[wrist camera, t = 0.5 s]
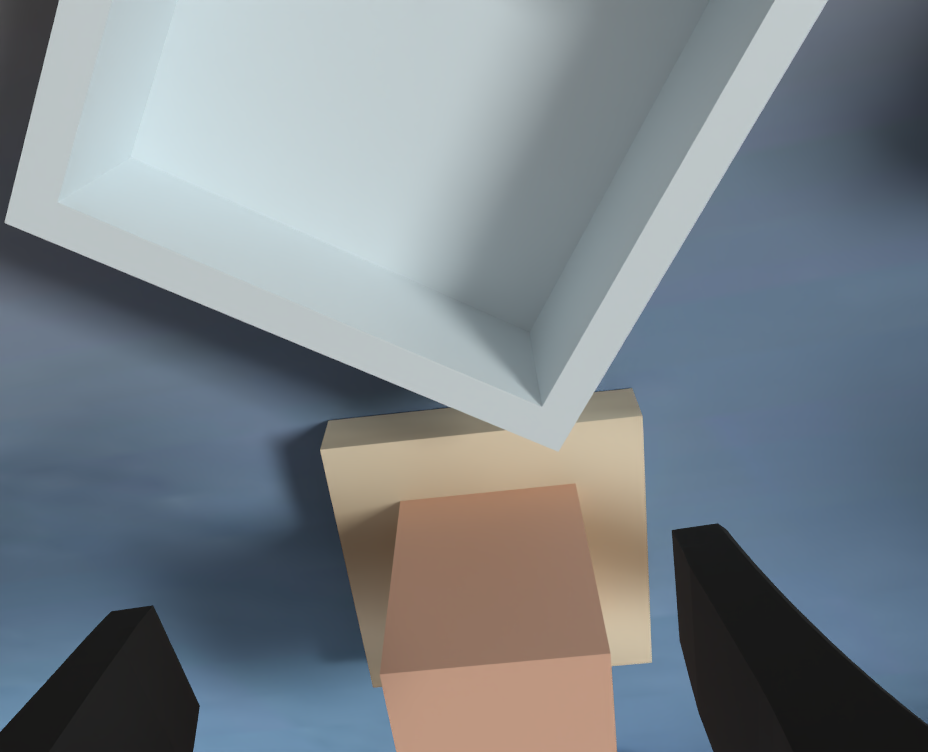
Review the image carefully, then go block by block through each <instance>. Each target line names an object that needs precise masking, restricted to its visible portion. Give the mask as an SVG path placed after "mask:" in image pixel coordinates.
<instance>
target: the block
mask: <svg viewBox="0 0 928 752" xmlns="http://www.w3.org/2000/svg"><path fill="white" fill-rule="evenodd" d="M380 678H381V683H382V687H383V692H384V697H385V701H386V706H387V710H388V715H389V720H390V724H391V729H392V734H393V738H394V743H395V747H396V752H617V746H616V730H615V715H614V699H613V683H612V668H611V653H610V648H609V643H608V639H607V634H606V629H605V624H604V619H603V614H602V609H601V605H600V600H599V595H598V590H597V585H596V580H595V575H594V571H593V566H592V561H591V556H590V551H589V546H588V541H587V537H586V532H585V527H584V522H583V517H582V512H581V507H580V503H579V498H578V493H577V488H576V483H574V484H564V485H554V486H545V487H535V488H525V489H515V490H505V491H495V492H485V493H475V494H466V495H456V496H446V497H436V498H426V499H416V500H406V501H400V507H399V516H398V524H397V533H396V541H395V549H394V558H393V566H392V575H391V583H390V592H389V600H388V608H387V617H386V625H385V634H384V642H383V651H382V659H381V667H380Z"/></svg>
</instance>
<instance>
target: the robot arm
mask: <svg viewBox="0 0 928 752" xmlns="http://www.w3.org/2000/svg"><path fill="white" fill-rule="evenodd" d="M672 539H673V553H674V567H675V581H676V595H677V609H678V623H679V638H680V643H681V647H682V651H683V655H684V659H685V663H686V667H687V671H688V674H689V678H690V682H691V686H692V690H693V693H694V697H695V701H696V705H697V708H698V712H699V715H700V717H701V720H702V723H703V725H704V728H705V731H706V733H707V736H708V739H709V741H710V744H711V747H712V749H713V752H928V725H927V724H926V723H925V722H924V721H922V720H921V719H920V718H918V717H917V716H916V715H915V714H913V713H912V712H911V711H910V710H908V709H907V708H906V707H905V706H904V705H902V704H901V703H900V702H899V701H897V700H896V699H895V698H894V697H893V696H892V695H890V694H889V693H888V692H887V691H886V690H884V689H883V688H882V687H881V686H880V685H879V684H877V683H876V682H875V681H874V680H873V679H872V678H871V677H869V676H868V675H867V674H866V673H865V672H864V671H863V670H861V669H860V668H859V667H858V666H857V665H856V664H855V663H854V662H852V661H851V660H850V659H849V658H848V657H847V656H846V655H845V654H844V653H843V652H842V651H840V650H839V649H838V648H837V647H836V646H835V645H834V644H833V643H832V642H831V641H830V640H829V639H828V638H827V637H826V636H825V635H824V634H823V633H822V632H820V631H819V630H818V629H817V628H816V627H815V626H814V625H813V624H812V623H811V622H810V621H809V620H808V619H807V618H806V617H805V616H804V615H803V614H802V613H801V612H800V611H799V610H798V609H797V608H796V607H795V606H794V605H793V604H792V603H791V602H790V601H789V600H788V599H787V598H786V597H785V596H784V595H783V594H782V592H781V591H780V590H779V589H778V588H777V587H776V586H775V585H774V584H773V583H772V582H771V581H770V580H769V578H768V577H767V576H766V575H765V574H764V573H763V572H762V571H761V570H760V569H759V568H758V566H757V565H756V564H755V563H754V562H753V561H752V560H751V558H750V557H749V556H748V555H747V554H746V553H745V552H744V550H743V549H742V548H741V547H740V546H739V544H738V543H737V542H736V541H735V540H734V538H733V537H732V536H731V535H730V533H729V532H728V531H727V530H726V529H725V528H724V527H722V526H721V525H719V524H718V523H717V524H710V525H704V526H697V527H690V528H683V529H676V530H672ZM199 707H200V705H199V703H198V701H197V699H196V697H195V695H194V693H193V690H192V688H191V686H190V684H189V682H188V680H187V677H186V675H185V673H184V671H183V669H182V667H181V664H180V662H179V660H178V658H177V656H176V654H175V652H174V649H173V647H172V645H171V643H170V641H169V639H168V636H167V634H166V632H165V630H164V628H163V626H162V623H161V621H160V619H159V617H158V615H157V613H156V611H155V608H154V606H146V607H139V608H132V609H125V610H118V611H111V612H110V613H109V614H108V615H107V616H106V617H105V618H104V619H103V620H102V621H101V622H100V624H99V625H98V626H97V627H96V628H95V629H94V630H93V631H92V632H91V633H90V634H89V635H88V636H87V637H86V638H85V640H84V641H83V642H82V643H81V644H80V645H79V646H78V647H77V648H76V649H75V651H74V652H73V653H72V654H71V655H70V656H69V657H68V658H67V659H66V661H65V662H64V663H63V664H62V665H61V666H60V667H59V668H58V669H57V670H56V672H55V673H54V674H53V675H52V676H51V677H50V678H49V679H48V680H47V682H46V683H45V684H44V685H43V686H42V687H41V688H40V689H39V690H38V691H37V693H36V694H35V695H34V696H33V697H32V698H31V699H30V700H29V701H28V702H27V703H26V705H25V706H24V707H23V708H22V709H21V710H20V711H19V712H18V713H17V714H16V715H15V716H14V718H13V719H12V720H11V721H10V722H9V723H8V724H7V725H6V726H5V727H4V728H3V730H2V731H1V732H0V752H193V748H194V742H195V735H196V728H197V721H198V714H199Z"/></svg>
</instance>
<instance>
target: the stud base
mask: <svg viewBox="0 0 928 752" xmlns="http://www.w3.org/2000/svg"><path fill="white" fill-rule="evenodd" d="M320 452H321V456H322V461H323V465H324V470H325V474H326V478H327V483H328V487H329V492H330V496H331V501H332V505H333V510H334V514H335V519H336V523H337V528H338V532H339V537H340V541H341V546H342V550H343V555H344V559H345V564H346V568H347V573H348V577H349V581H350V586H351V590H352V595H353V599H354V604H355V608H356V613H357V617H358V622H359V626H360V631H361V635H362V640H363V644H364V649H365V653H366V658H367V662H368V667H369V671H370V676H371V680H372V684H373V688H374V687H382V683H381V678H380V667H381V659H382V651H383V642H384V634H385V625H386V617H387V608H388V600H389V592H390V583H391V575H392V566H393V558H394V549H395V541H396V533H397V524H398V516H399V507H400V501H406V500H416V499H426V498H436V497H446V496H456V495H466V494H475V493H485V492H495V491H505V490H515V489H525V488H535V487H545V486H554V485H564V484H574V483H576V488H577V493H578V498H579V503H580V507H581V512H582V517H583V522H584V527H585V532H586V537H587V541H588V546H589V551H590V556H591V561H592V566H593V571H594V575H595V580H596V585H597V590H598V595H599V600H600V605H601V609H602V614H603V619H604V624H605V629H606V634H607V639H608V643H609V648H610V653H611V666H618V665H629V664H641V663H652V656H651V629H650V603H649V576H648V550H647V523H646V497H645V470H644V444H643V417H642V413H641V411H640V408H639V405H638V403H637V400H636V398H635V395H634V392H633V390H632V388H630V389H621V390H611V391H602V392H594V393H593V395H592V396H591V398H590V400H589V401H588V403H587V405H586V406H585V408H584V410H583V411H582V413H581V415H580V416H579V418H578V420H577V421H576V423H575V425H574V427H573V428H572V430H571V432H570V433H569V435H568V437H567V438H566V440H565V442H564V443H563V445H562V447H561V448H560V450H559V452H558V451H555V450H553V449H550V448H548V447H546V446H543V445H541V444H538V443H536V442H534V441H531V440H529V439H526V438H524V437H521V436H519V435H517V434H514V433H512V432H509V431H507V430H504V429H502V428H500V427H497V426H495V425H492V424H490V423H488V422H485V421H483V420H480V419H478V418H475V417H473V416H471V415H468V414H466V413H463V412H461V411H459V410H456V409H454V408H443V409H433V410H424V411H415V412H405V413H396V414H387V415H377V416H368V417H359V418H349V419H340V420H330V421H328V424H327V428H326V431H325V435H324V438H323V441H322V445H321V448H320Z"/></svg>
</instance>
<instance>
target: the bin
mask: <svg viewBox="0 0 928 752" xmlns="http://www.w3.org/2000/svg"><path fill="white" fill-rule="evenodd" d="M827 1H828V0H59V3H58V7H57V11H56V15H55V19H54V23H53V27H52V31H51V35H50V39H49V44H48V48H47V52H46V56H45V60H44V64H43V68H42V72H41V76H40V80H39V84H38V88H37V92H36V96H35V101H34V105H33V109H32V113H31V117H30V121H29V125H28V129H27V133H26V137H25V141H24V145H23V149H22V153H21V158H20V162H19V166H18V170H17V174H16V178H15V182H14V186H13V190H12V194H11V198H10V202H9V206H8V210H7V214H6V219H5V223H6V224H8V225H11V226H13V227H16V228H18V229H21V230H23V231H25V232H28V233H30V234H33V235H35V236H37V237H40V238H42V239H45V240H47V241H50V242H52V243H54V244H57V245H59V246H62V247H64V248H67V249H69V250H71V251H74V252H76V253H79V254H81V255H83V256H86V257H88V258H91V259H93V260H96V261H98V262H100V263H103V264H105V265H108V266H110V267H113V268H115V269H117V270H120V271H122V272H125V273H127V274H129V275H132V276H134V277H137V278H139V279H142V280H144V281H146V282H149V283H151V284H154V285H156V286H158V287H161V288H163V289H166V290H168V291H171V292H173V293H175V294H178V295H180V296H183V297H185V298H188V299H190V300H192V301H195V302H197V303H200V304H202V305H204V306H207V307H209V308H212V309H214V310H217V311H219V312H221V313H224V314H226V315H229V316H231V317H233V318H236V319H238V320H241V321H243V322H246V323H248V324H250V325H253V326H255V327H258V328H260V329H263V330H265V331H267V332H270V333H272V334H275V335H277V336H279V337H282V338H284V339H287V340H289V341H292V342H294V343H296V344H299V345H301V346H304V347H306V348H308V349H311V350H313V351H316V352H318V353H321V354H323V355H325V356H328V357H330V358H333V359H335V360H338V361H340V362H342V363H345V364H347V365H350V366H352V367H354V368H357V369H359V370H362V371H364V372H367V373H369V374H371V375H374V376H376V377H379V378H381V379H384V380H386V381H388V382H391V383H393V384H396V385H398V386H400V387H403V388H405V389H408V390H410V391H413V392H415V393H417V394H420V395H422V396H425V397H427V398H429V399H432V400H434V401H437V402H439V403H442V404H444V405H446V406H449V407H451V408H454V409H456V410H459V411H461V412H463V413H466V414H468V415H471V416H473V417H475V418H478V419H480V420H483V421H485V422H488V423H490V424H492V425H495V426H497V427H500V428H502V429H504V430H507V431H509V432H512V433H514V434H517V435H519V436H521V437H524V438H526V439H529V440H531V441H534V442H536V443H538V444H541V445H543V446H546V447H548V448H550V449H553V450H555V451H558V452H559V450H560V448H561V447H562V445H563V443H564V442H565V440H566V438H567V437H568V435H569V433H570V432H571V430H572V428H573V427H574V425H575V423H576V421H577V420H578V418H579V416H580V415H581V413H582V411H583V410H584V408H585V406H586V405H587V403H588V401H589V400H590V398H591V396H592V395H593V393H594V391H595V390H596V388H597V386H598V385H599V383H600V381H601V380H602V378H603V376H604V375H605V373H606V371H607V370H608V368H609V366H610V365H611V363H612V361H613V360H614V358H615V356H616V354H617V353H618V351H619V349H620V348H621V346H622V344H623V343H624V341H625V339H626V338H627V336H628V334H629V333H630V331H631V329H632V328H633V326H634V324H635V323H636V321H637V319H638V318H639V316H640V314H641V313H642V311H643V309H644V308H645V306H646V304H647V303H648V301H649V299H650V298H651V296H652V294H653V292H654V291H655V289H656V287H657V286H658V284H659V282H660V281H661V279H662V277H663V276H664V274H665V272H666V271H667V269H668V267H669V266H670V264H671V262H672V261H673V259H674V257H675V256H676V254H677V252H678V251H679V249H680V247H681V246H682V244H683V242H684V241H685V239H686V237H687V236H688V234H689V232H690V230H691V229H692V227H693V225H694V224H695V222H696V220H697V219H698V217H699V215H700V214H701V212H702V210H703V209H704V207H705V205H706V204H707V202H708V200H709V199H710V197H711V195H712V194H713V192H714V190H715V189H716V187H717V185H718V184H719V182H720V180H721V179H722V177H723V175H724V174H725V172H726V170H727V169H728V167H729V165H730V163H731V162H732V160H733V158H734V157H735V155H736V153H737V152H738V150H739V148H740V147H741V145H742V143H743V142H744V140H745V138H746V137H747V135H748V133H749V132H750V130H751V128H752V127H753V125H754V123H755V122H756V120H757V118H758V117H759V115H760V113H761V112H762V110H763V108H764V107H765V105H766V103H767V101H768V100H769V98H770V96H771V95H772V93H773V91H774V90H775V88H776V86H777V85H778V83H779V81H780V80H781V78H782V76H783V75H784V73H785V71H786V70H787V68H788V66H789V65H790V63H791V61H792V60H793V58H794V56H795V55H796V53H797V51H798V50H799V48H800V46H801V45H802V43H803V41H804V40H805V38H806V36H807V34H808V33H809V31H810V29H811V28H812V26H813V24H814V23H815V21H816V19H817V18H818V16H819V14H820V13H821V11H822V9H823V8H824V6H825V4H826V3H827Z"/></svg>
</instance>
